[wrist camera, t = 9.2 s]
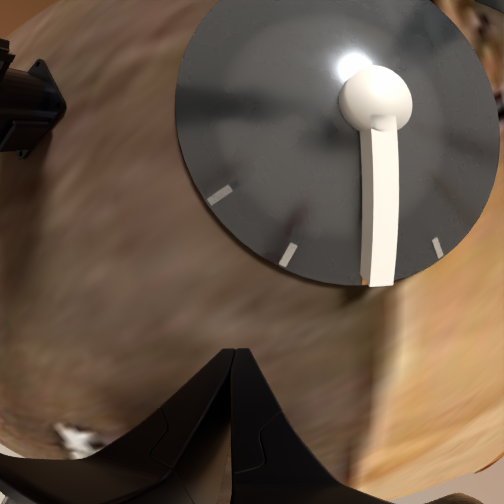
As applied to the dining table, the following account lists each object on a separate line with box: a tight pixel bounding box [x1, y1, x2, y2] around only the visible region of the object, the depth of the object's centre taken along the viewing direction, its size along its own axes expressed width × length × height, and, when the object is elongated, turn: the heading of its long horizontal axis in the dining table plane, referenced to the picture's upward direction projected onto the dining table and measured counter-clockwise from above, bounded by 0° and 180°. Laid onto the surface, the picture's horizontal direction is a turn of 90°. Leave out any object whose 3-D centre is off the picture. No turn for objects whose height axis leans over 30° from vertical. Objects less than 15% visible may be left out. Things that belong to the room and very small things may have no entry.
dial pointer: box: [339, 65, 412, 287], centre depth 16 cm, size 13×4×2 cm, turn 4°
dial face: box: [175, 0, 500, 285], centre depth 16 cm, size 24×24×1 cm
